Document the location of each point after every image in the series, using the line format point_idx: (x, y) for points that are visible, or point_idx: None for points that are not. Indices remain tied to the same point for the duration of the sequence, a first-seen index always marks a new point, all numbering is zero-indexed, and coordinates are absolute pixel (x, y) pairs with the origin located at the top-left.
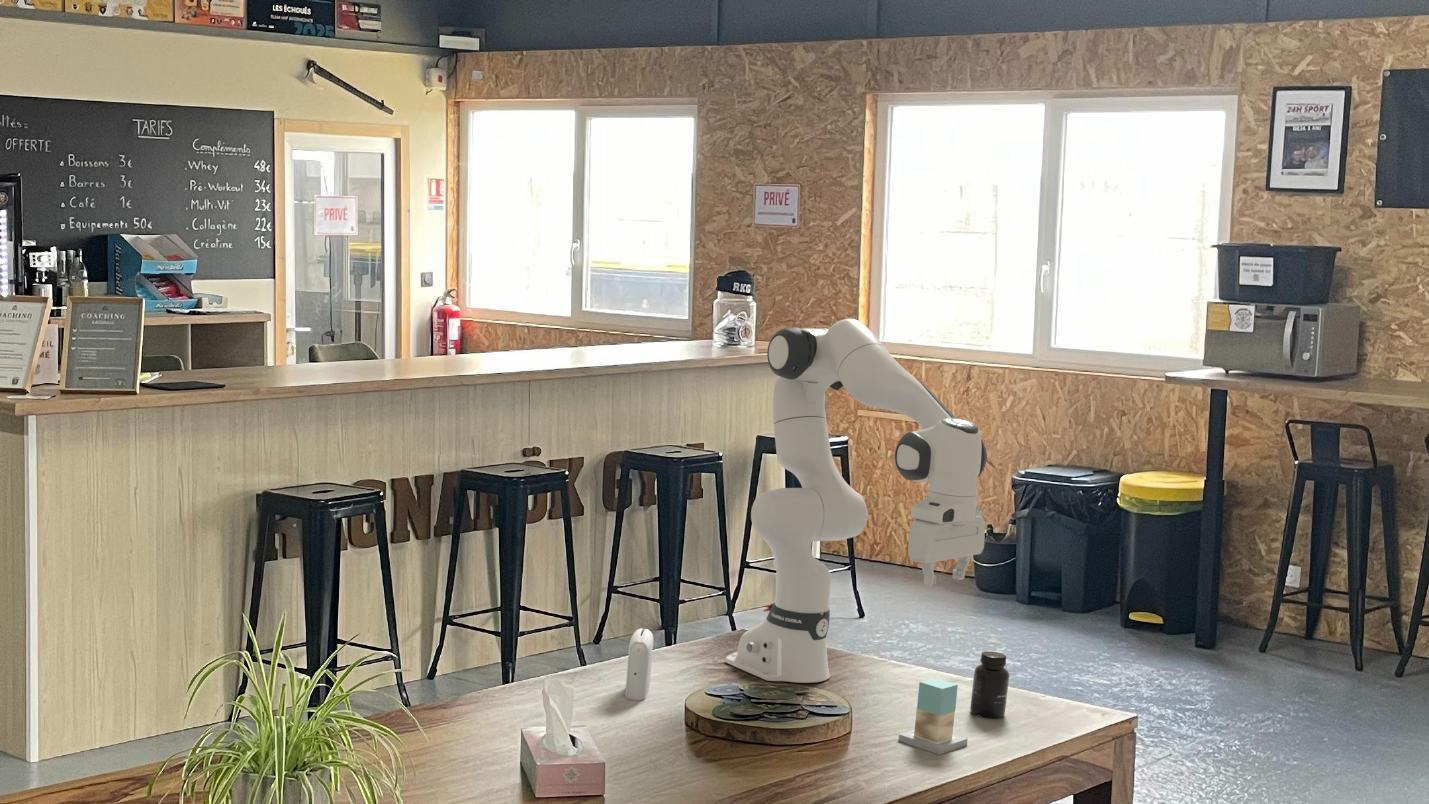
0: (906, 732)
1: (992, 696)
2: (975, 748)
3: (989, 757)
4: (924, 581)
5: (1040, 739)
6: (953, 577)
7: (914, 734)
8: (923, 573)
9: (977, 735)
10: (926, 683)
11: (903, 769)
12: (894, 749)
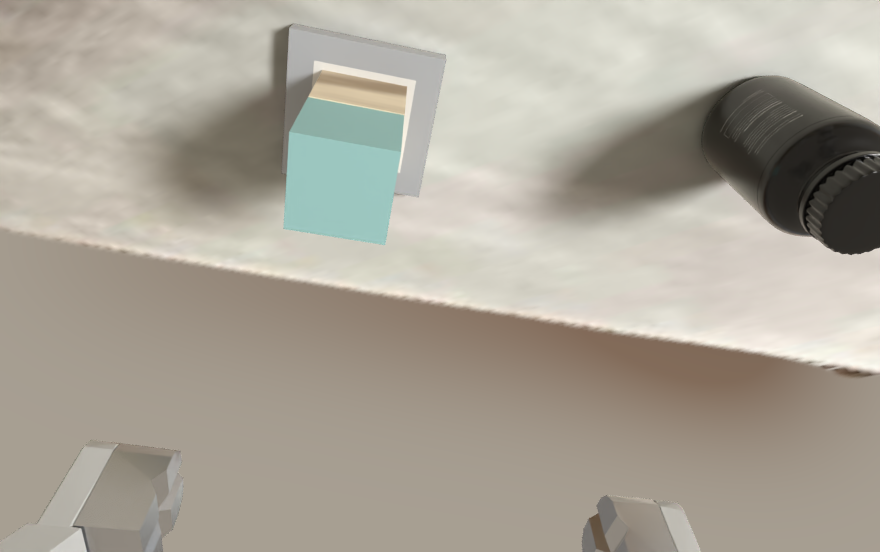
0: (325, 39)
1: (731, 179)
2: (411, 213)
3: (372, 259)
4: (78, 463)
5: (598, 296)
6: (605, 507)
7: (322, 71)
8: (7, 536)
9: (522, 179)
10: (294, 160)
11: (91, 143)
12: (210, 51)
